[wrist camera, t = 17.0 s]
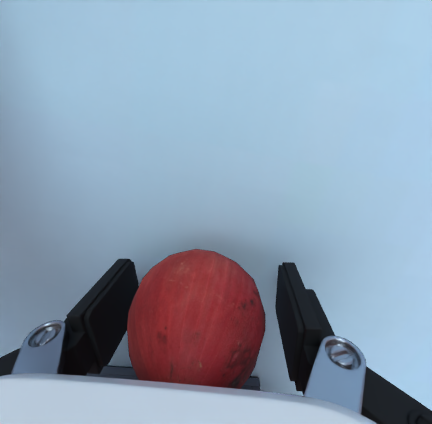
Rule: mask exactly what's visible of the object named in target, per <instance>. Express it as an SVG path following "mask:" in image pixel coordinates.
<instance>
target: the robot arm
mask: <svg viewBox="0 0 432 424" xmlns="http://www.w3.org/2000/svg"><path fill="white" fill-rule="evenodd" d="M138 287H139V285H138V280H137V275H136V270H135V266H134V262H131V260H130V259H118V260H117V261H116V262H115V263H114V264H113V265H112V267H111V268H110V269H109V270H108V271H107V272H106V273H105V274H104V275H103V276H102V277H101V279H100V280H99V281H98V282H97V283H96V284H95V285H94V286H93V287H92V288H91V289H90V290H89V292H88V293H87V294H86V295H85V296H84V297H83V298H82V299H81V300H80V301H79V302H78V304H77V305H76V306H75V307H74V308H73V309H72V310H71V311H70V312H69V313H68V314H67V315H66V316H67V318H66V320H65V321H64V322H63V321H60V320H54V321H50V322H47V323H44V324H42V325H40V326H39V327H37V328H35V329H34V330H33V331H32V332H30V333H29V334H28V336H27V337H26V338H25V340H24V342H23V344H22V346H21V348H19V349H17V350H15V351H13V352H11V353H9V354H7V355H5V356H3V357H1V358H0V424H432V411H431V410H430V409H428V408H427V407H425V406H424V405H422V404H421V403H419V402H418V401H416V400H415V399H413V398H412V397H410V396H409V395H407V394H406V393H405V392H403V391H402V390H400V389H399V388H397V387H396V386H394V385H393V384H391V383H390V382H388V381H387V380H385V379H384V378H382V377H381V376H380V375H378V374H377V373H375V372H374V371H372V370H371V369H369V368H368V367H366V359H365V357H364V355H363V353H362V352H361V351H360V349H359V348H358V347H357V346H356V345H354V344H353V343H352V342H350V341H349V340H347V339H345V338H342V337H339V336H335V335H334V332H333V330H332V328H331V326H330V324H329V322H328V320H327V317H326V315H325V313H324V311H323V309H322V307H321V305H320V302H319V300H318V298H317V296H316V294H315V292H314V290H312V289H305V287H304V284H303V282H302V280H301V277H300V275H299V272H298V270H297V268H296V265H295V263H284V262H283V264H282V265H279V268H278V281H277V293H276V315H277V320H278V324H279V329H280V334H281V339H282V344H283V349H284V354H285V359H286V363H287V368H288V373H289V378H290V381H295V385H296V390H297V391H302V392H303V395H304V396H298V395H292V394H283V393H274V392H265V391H255V390H245V389H234V388H223V387H212V386H201V385H189V384H178V383H166V382H154V381H142V380H130V379H118V378H105V377H92V376H86V375H87V373H88V374H100V373H101V371H102V369H103V367H104V366H107V365H108V363H109V362H110V360H111V358H112V356H113V354H114V353H115V351H116V349H117V347H118V345H119V343H120V342H121V340H122V338H123V336H124V334H125V333H126V331H127V323H128V313H129V309H130V306H131V304H132V301H133V298H134V296H135V294H136V292H137V290H138Z"/></svg>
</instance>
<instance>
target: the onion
mask: <svg viewBox="0 0 432 424" xmlns="http://www.w3.org/2000/svg"><path fill="white" fill-rule="evenodd" d="M127 332H128V348H129V357H130V360H131V364H132V367H133V369H134V371H135V373H136V375H137V377H138V379H139V380H142V381H154V382H166V383H178V384H189V385H201V386H212V387H223V388H234V389H240V388H241V387H242V386H243V385H244V383H245V382H246V381H247V380H248V378H249V377H250V375H251V373H252V371H253V369H254V367H255V364H256V361H257V357H258V354H259V350H260V347H261V343H262V340H263V336H264V333H265V312H264V309H263V305H262V302H261V299H260V295H259V292H258V289H257V287H256V284H255V282H254V279H253V278H252V277H251V276H250V275H249V274H248V273H247V272H246V271H245V270H244V269H243V268H242V267H240V266H239V265H238V264H237V263H236V262H234V261H233V260H231V259H229V258H227V257H225V256H223V255H221V254H218V253H216V252H213V251H206V250H200V249H194V250H190V251H185V252H180V253H176V254H173V255H170V256H168V257H167V258H165V259H164V260H162V261H161V262H159V263H158V264H157V265H155V266H154V267H152V268H151V270H150V271H149V272H148V273H147V274H146V275H145V277H144V278H143V279H142V281H141V283H140V285H139V287H138V290H137V292H136V294H135V296H134V298H133V301H132V304H131V306H130V309H129V313H128V323H127Z"/></svg>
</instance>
